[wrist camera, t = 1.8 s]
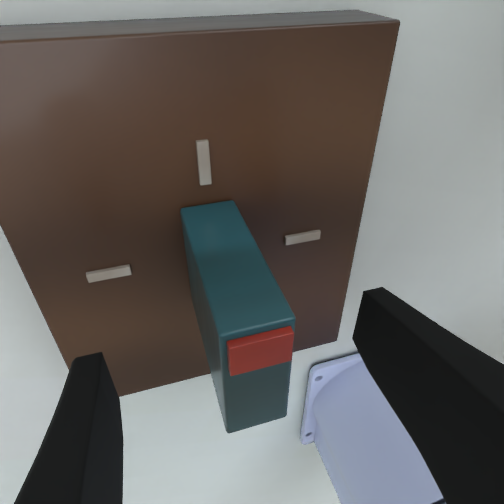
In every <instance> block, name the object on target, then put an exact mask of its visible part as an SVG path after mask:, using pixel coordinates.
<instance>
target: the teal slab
mask: <svg viewBox="0 0 504 504" xmlns="http://www.w3.org/2000/svg"><path fill="white" fill-rule="evenodd" d="M180 214H181V222H182V229H183V237H184V244H185V252H186V259H187V267H188V274H189V282H190V289H191V297H192V303H193V306H194V310H195V314H196V318H197V322H198V326H199V329H200V333H201V337H202V341H203V345H204V348H205V352H206V356H207V360H208V364H209V368H210V371H211V375H212V379H213V383H214V387H215V391H216V394H217V398H218V402H219V406H220V410H221V413H222V417H223V421H224V425H225V429H226V431H227V432H228V433H232V432H236V431H239V430H242V429H246V428H249V427H252V426H256V425H259V424H263V423H266V422H269V421H273V420H276V419H279V418H283V417H285V416H286V414H287V404H288V393H289V383H290V372H291V362H292V352H293V341H294V331H295V320H296V317H295V315H294V313H293V312H292V310H291V308H290V306H289V304H288V302H287V300H286V298H285V296H284V295H283V293H282V291H281V289H280V287H279V285H278V283H277V281H276V279H275V278H274V276H273V274H272V272H271V270H270V268H269V266H268V264H267V263H266V261H265V259H264V257H263V255H262V253H261V251H260V249H259V247H258V246H257V244H256V242H255V240H254V238H253V236H252V234H251V232H250V230H249V229H248V227H247V225H246V223H245V221H244V219H243V217H242V215H241V214H240V212H239V210H238V208H237V206H236V204H235V202H234V201H233V200H230V201H223V202H217V203H211V204H204V205H198V206H191V207H185V208H181V210H180Z"/></svg>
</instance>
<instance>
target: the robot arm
mask: <svg viewBox="0 0 504 504" xmlns="http://www.w3.org/2000/svg"><path fill="white" fill-rule="evenodd" d="M352 339H353V341H354V343H355V345H356V347H357V349H358V352H359V353H357V354H354V355H350V356H346V357H342V358H339V359H335V360H331V361H328V362H324V363H320V364H317V365H314V366H313V367H312V368H311V369H310V373H309V380H308V386H307V393H306V400H305V407H304V414H303V421H302V428H301V435H300V440H301V443H302V444H309V443H312V442H315V445H316V447H317V449H318V452H319V454H320V456H321V458H322V461H323V463H324V465H325V468H326V470H327V472H328V475H329V477H330V479H331V481H332V484H333V486H334V488H335V491H336V493H337V495H338V498H339V500H340V502H341V504H504V364H502V363H500V362H498V361H497V360H495V359H493V358H492V357H490V356H488V355H487V354H485V353H483V352H481V351H480V350H478V349H476V348H475V347H473V346H471V345H470V344H468V343H466V342H465V341H463V340H462V339H460V338H458V337H457V336H455V335H454V334H452V333H451V332H449V331H448V330H446V329H444V328H443V327H441V326H440V325H438V324H437V323H435V322H434V321H432V320H431V319H429V318H428V317H426V316H425V315H423V314H422V313H420V312H419V311H417V310H416V309H415V308H413V307H412V306H410V305H409V304H407V303H406V302H404V301H403V300H401V299H400V298H398V297H397V296H395V295H394V294H392V293H391V292H389V291H388V290H386V289H385V288H383V287H380V288H376V289H371V290H367V291H363V295H362V300H361V304H360V308H359V312H358V316H357V321H356V325H355V329H354V333H353V338H352ZM122 497H123V431H122V420H121V410H120V400H119V396H118V394H117V391H116V388H115V386H114V383H113V380H112V378H111V375H110V372H109V369H108V367H107V364H106V361H105V359H104V356H103V353H102V352H98V353H94V354H89V355H85V356H81V357H76V358H75V359H74V360H73V361H72V363H71V367H70V370H69V373H68V376H67V379H66V383H65V385H64V388H63V391H62V394H61V397H60V400H59V402H58V405H57V407H56V410H55V413H54V415H53V418H52V420H51V423H50V425H49V427H48V430H47V432H46V435H45V437H44V439H43V442H42V444H41V447H40V449H39V451H38V454H37V456H36V458H35V460H34V462H33V465H32V467H31V469H30V471H29V473H28V475H27V477H26V479H25V481H24V484H23V486H22V488H21V490H20V492H19V494H18V496H17V498H16V500H15V502H14V504H122Z"/></svg>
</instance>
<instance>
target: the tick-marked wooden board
mask: <svg viewBox="0 0 504 504" xmlns="http://www.w3.org/2000/svg"><path fill="white" fill-rule="evenodd" d="M399 26H400V21H399V20H397V19H393V18H389V17H384V16H380V15H376V14H372V13H368V12H364V11H360V10H344V11H321V12H298V13H275V14H253V15H230V16H207V17H184V18H162V19H139V20H116V21H93V22H71V23H48V24H25V25H2V26H0V225H1V227H2V229H3V231H4V234H5V236H6V238H7V240H8V242H9V244H10V246H11V248H12V250H13V253H14V255H15V257H16V259H17V261H18V263H19V265H20V267H21V270H22V272H23V274H24V276H25V278H26V280H27V282H28V284H29V286H30V289H31V291H32V293H33V295H34V297H35V299H36V301H37V303H38V305H39V308H40V310H41V312H42V314H43V316H44V318H45V320H46V322H47V324H48V327H49V329H50V331H51V333H52V335H53V337H54V339H55V341H56V344H57V346H58V348H59V350H60V352H61V354H62V356H63V358H64V360H65V363H66V365H67V367H68V369H69V370H70V367H71V363H72V361H73V360H74V359H75V358H76V357H81V356H85V355H89V354H94V353H98V352H102V353H103V356H104V359H105V361H106V364H107V367H108V369H109V372H110V375H111V378H112V380H113V383H114V386H115V388H116V391H117V394H118V396H119V397H120V396H124V395H128V394H132V393H136V392H140V391H144V390H148V389H152V388H155V387H159V386H163V385H167V384H171V383H175V382H179V381H183V380H187V379H190V378H194V377H198V376H202V375H206V374H210V373H211V371H210V368H209V364H208V360H207V356H206V352H205V348H204V345H203V341H202V337H201V333H200V329H199V326H198V322H197V318H196V314H195V310H194V306H193V303H192V297H191V289H190V282H189V274H188V267H187V259H186V252H185V244H184V237H183V229H182V222H181V214H180V210H181V208H185V207H191V206H198V205H204V204H211V203H217V202H223V201H230V200H233V201H234V202H235V204H236V206H237V208H238V210H239V212H240V214H241V215H242V217H243V219H244V221H245V223H246V225H247V227H248V229H249V230H250V232H251V234H252V236H253V238H254V240H255V242H256V244H257V246H258V247H259V249H260V251H261V253H262V255H263V257H264V259H265V261H266V263H267V264H268V266H269V268H270V270H271V272H272V274H273V276H274V278H275V279H276V281H277V283H278V285H279V287H280V289H281V291H282V293H283V295H284V296H285V298H286V300H287V302H288V304H289V306H290V308H291V310H292V312H293V313H294V315H295V317H296V320H295V331H294V341H293V352H295V351H299V350H303V349H307V348H311V347H315V346H319V345H323V344H326V343H330V342H334V341H337V337H338V332H339V327H340V322H341V317H342V312H343V307H344V302H345V297H346V292H347V287H348V282H349V277H350V272H351V267H352V262H353V257H354V252H355V247H356V242H357V237H358V232H359V227H360V222H361V217H362V212H363V207H364V202H365V197H366V192H367V187H368V182H369V177H370V172H371V167H372V162H373V156H374V151H375V146H376V141H377V136H378V131H379V126H380V121H381V116H382V111H383V106H384V101H385V96H386V91H387V86H388V81H389V76H390V71H391V66H392V61H393V56H394V51H395V46H396V41H397V36H398V31H399Z"/></svg>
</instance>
